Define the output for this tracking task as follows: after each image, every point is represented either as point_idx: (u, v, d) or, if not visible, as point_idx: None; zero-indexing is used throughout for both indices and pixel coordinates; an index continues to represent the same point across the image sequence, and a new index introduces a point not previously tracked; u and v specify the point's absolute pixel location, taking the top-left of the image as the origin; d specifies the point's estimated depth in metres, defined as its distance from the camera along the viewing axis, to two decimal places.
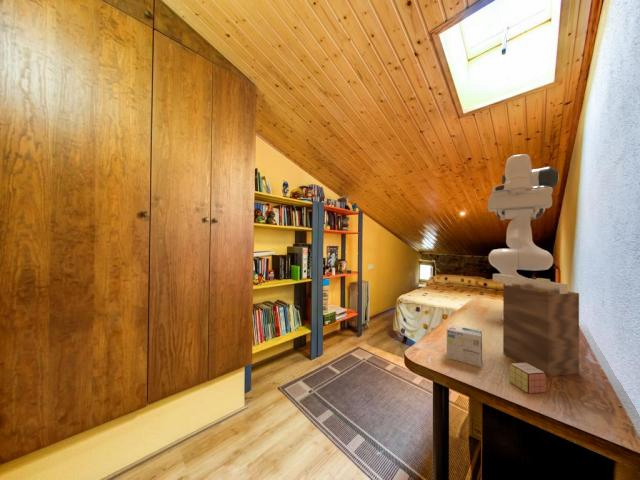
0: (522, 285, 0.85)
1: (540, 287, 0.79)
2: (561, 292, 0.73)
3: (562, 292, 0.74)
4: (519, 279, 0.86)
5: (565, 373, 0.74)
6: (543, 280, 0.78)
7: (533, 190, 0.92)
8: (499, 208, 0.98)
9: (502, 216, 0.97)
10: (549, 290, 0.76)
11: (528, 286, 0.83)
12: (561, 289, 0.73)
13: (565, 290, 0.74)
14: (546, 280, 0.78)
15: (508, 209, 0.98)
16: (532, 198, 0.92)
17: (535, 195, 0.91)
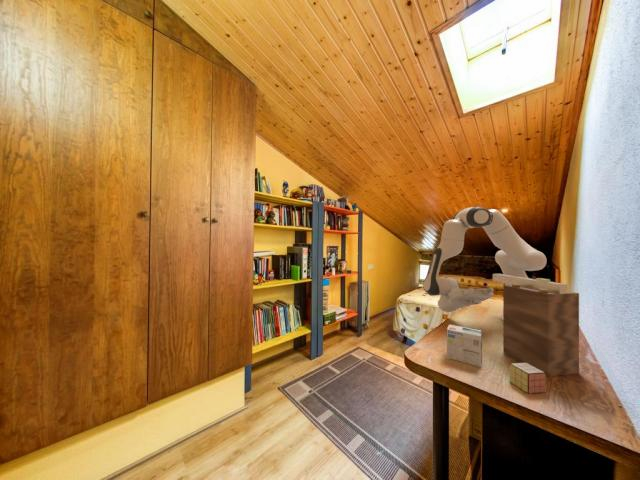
0: (522, 285, 0.85)
1: (540, 287, 0.79)
2: (561, 292, 0.73)
3: (562, 292, 0.74)
4: (519, 279, 0.86)
5: (565, 373, 0.74)
6: (543, 280, 0.78)
7: (458, 300, 1.12)
8: (487, 294, 1.08)
9: (490, 291, 1.05)
10: (549, 290, 0.76)
11: (528, 286, 0.83)
12: (561, 289, 0.73)
13: (565, 290, 0.74)
14: (546, 280, 0.78)
15: (479, 290, 1.09)
16: (463, 298, 1.09)
17: (460, 298, 1.10)
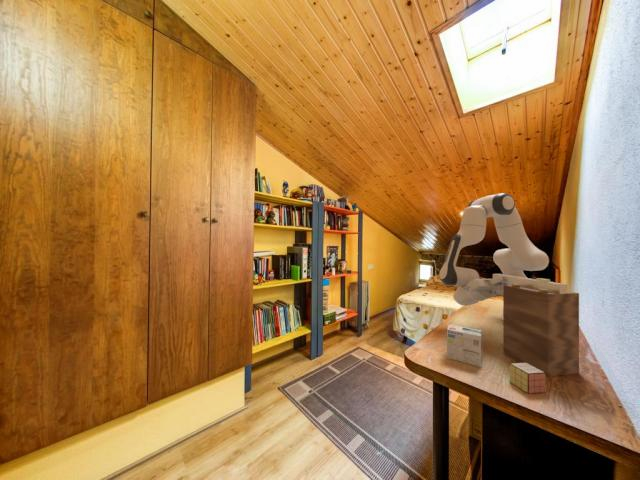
0: (522, 285, 0.85)
1: (540, 287, 0.79)
2: (561, 292, 0.73)
3: (562, 292, 0.74)
4: (519, 279, 0.86)
5: (565, 373, 0.74)
6: (543, 280, 0.78)
7: (478, 291, 1.00)
8: None
9: None
10: (549, 290, 0.76)
11: (528, 286, 0.83)
12: (561, 289, 0.73)
13: (565, 290, 0.74)
14: (546, 280, 0.78)
15: None
16: (485, 288, 0.97)
17: (481, 289, 0.98)
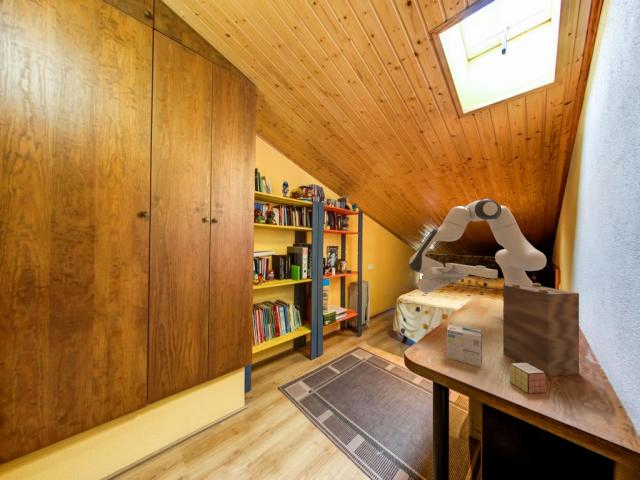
0: (465, 272, 0.96)
1: (477, 273, 0.90)
2: (492, 277, 0.84)
3: (493, 277, 0.85)
4: (463, 267, 0.97)
5: (565, 373, 0.74)
6: (480, 267, 0.89)
7: (434, 279, 1.11)
8: (462, 273, 1.07)
9: None
10: (483, 275, 0.87)
11: (469, 273, 0.94)
12: (492, 274, 0.84)
13: (495, 275, 0.85)
14: (482, 267, 0.89)
15: None
16: (438, 276, 1.08)
17: (435, 277, 1.09)
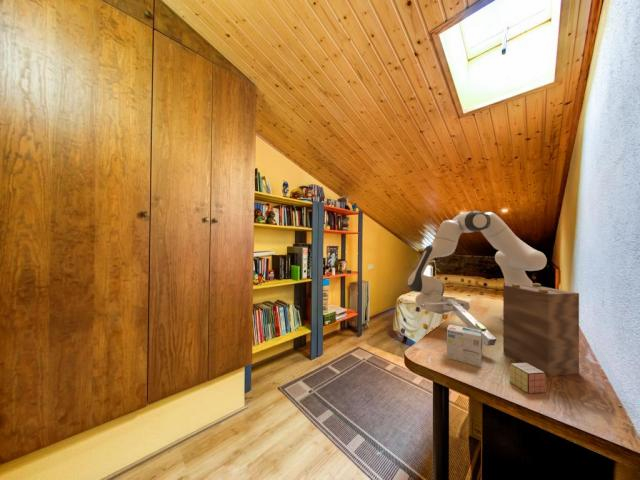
0: (464, 322, 0.95)
1: None
2: (488, 344, 0.84)
3: (489, 344, 0.84)
4: (464, 316, 0.95)
5: (565, 373, 0.74)
6: (480, 328, 0.88)
7: None
8: None
9: None
10: None
11: (468, 326, 0.93)
12: (489, 342, 0.84)
13: (493, 343, 0.84)
14: (482, 329, 0.87)
15: None
16: None
17: None
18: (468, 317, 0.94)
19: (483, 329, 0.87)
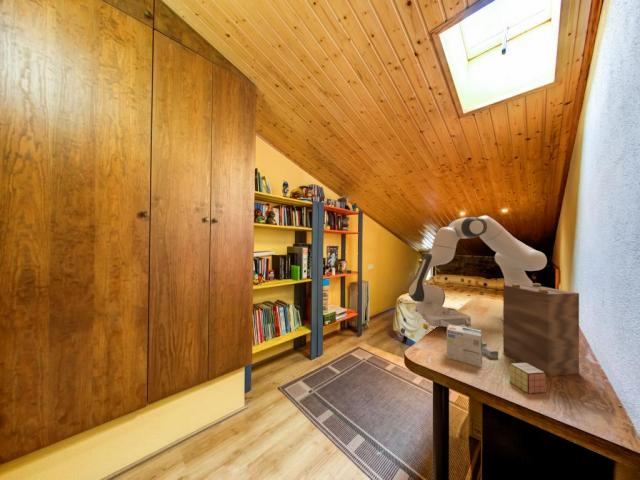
0: None
1: None
2: (492, 358, 0.83)
3: (493, 358, 0.84)
4: None
5: (565, 373, 0.74)
6: None
7: None
8: None
9: None
10: (484, 354, 0.86)
11: None
12: (492, 355, 0.83)
13: (496, 356, 0.84)
14: (483, 344, 0.88)
15: (457, 319, 1.06)
16: None
17: None
18: None
19: (484, 344, 0.88)
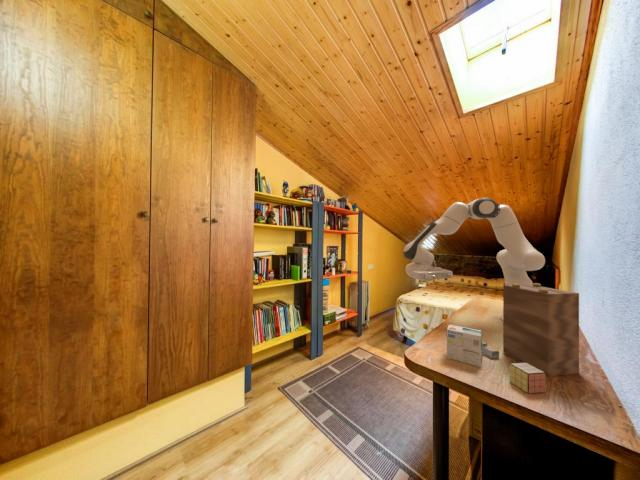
0: None
1: None
2: (493, 358, 0.83)
3: (494, 358, 0.84)
4: None
5: (565, 373, 0.74)
6: None
7: None
8: (446, 277, 1.18)
9: None
10: (484, 354, 0.86)
11: None
12: (493, 355, 0.83)
13: (496, 356, 0.84)
14: (483, 344, 0.88)
15: (440, 273, 1.18)
16: None
17: None
18: None
19: (484, 344, 0.88)
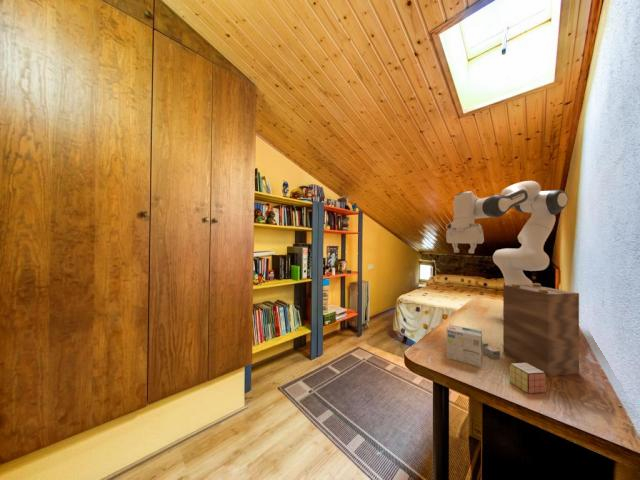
0: None
1: None
2: (494, 358, 0.83)
3: (495, 358, 0.84)
4: None
5: (565, 373, 0.74)
6: (482, 344, 0.88)
7: (468, 229, 1.07)
8: (452, 243, 1.18)
9: (454, 250, 1.17)
10: (485, 354, 0.86)
11: None
12: (494, 355, 0.84)
13: (498, 356, 0.84)
14: (484, 344, 0.88)
15: None
16: (467, 236, 1.08)
17: (469, 234, 1.07)
18: None
19: (485, 344, 0.88)
